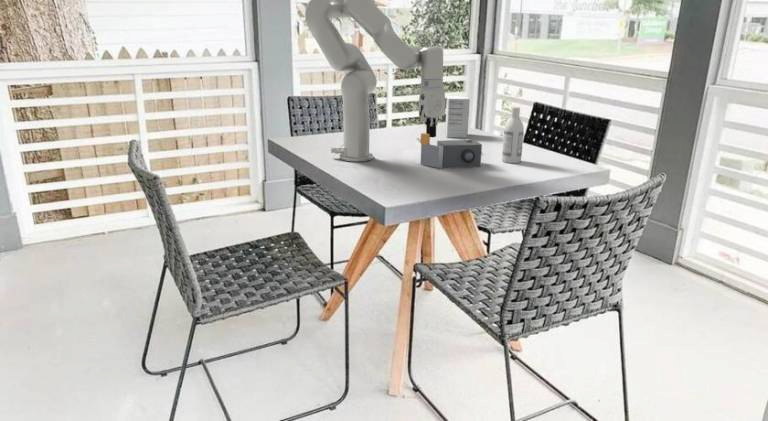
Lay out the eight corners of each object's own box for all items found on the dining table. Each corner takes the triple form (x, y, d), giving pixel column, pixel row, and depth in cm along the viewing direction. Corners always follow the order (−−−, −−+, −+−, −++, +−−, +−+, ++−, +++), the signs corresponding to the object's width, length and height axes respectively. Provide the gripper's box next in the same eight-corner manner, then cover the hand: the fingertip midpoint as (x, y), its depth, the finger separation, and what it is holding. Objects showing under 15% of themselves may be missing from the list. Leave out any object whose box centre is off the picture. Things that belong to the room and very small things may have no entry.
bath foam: (518, 159, 222) (523, 105, 215) (522, 163, 215) (527, 108, 209) (500, 158, 222) (504, 105, 215) (503, 163, 215) (508, 108, 209)
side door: (440, 169, 206) (442, 137, 203) (419, 164, 212) (420, 133, 208) (443, 168, 207) (444, 136, 204) (422, 164, 213) (423, 132, 209)
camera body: (443, 169, 207) (444, 145, 204) (436, 162, 216) (437, 139, 213) (481, 167, 209) (483, 143, 206) (473, 161, 218) (474, 138, 215)
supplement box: (467, 138, 257) (470, 99, 251) (446, 137, 257) (448, 98, 251) (465, 133, 266) (467, 95, 260) (444, 133, 266) (446, 95, 260)
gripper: (426, 86, 196) (426, 141, 202) (453, 82, 206) (452, 134, 212) (409, 85, 201) (409, 138, 207) (436, 81, 211) (435, 132, 217)
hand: (431, 136), depth 209 cm, fingers closed
